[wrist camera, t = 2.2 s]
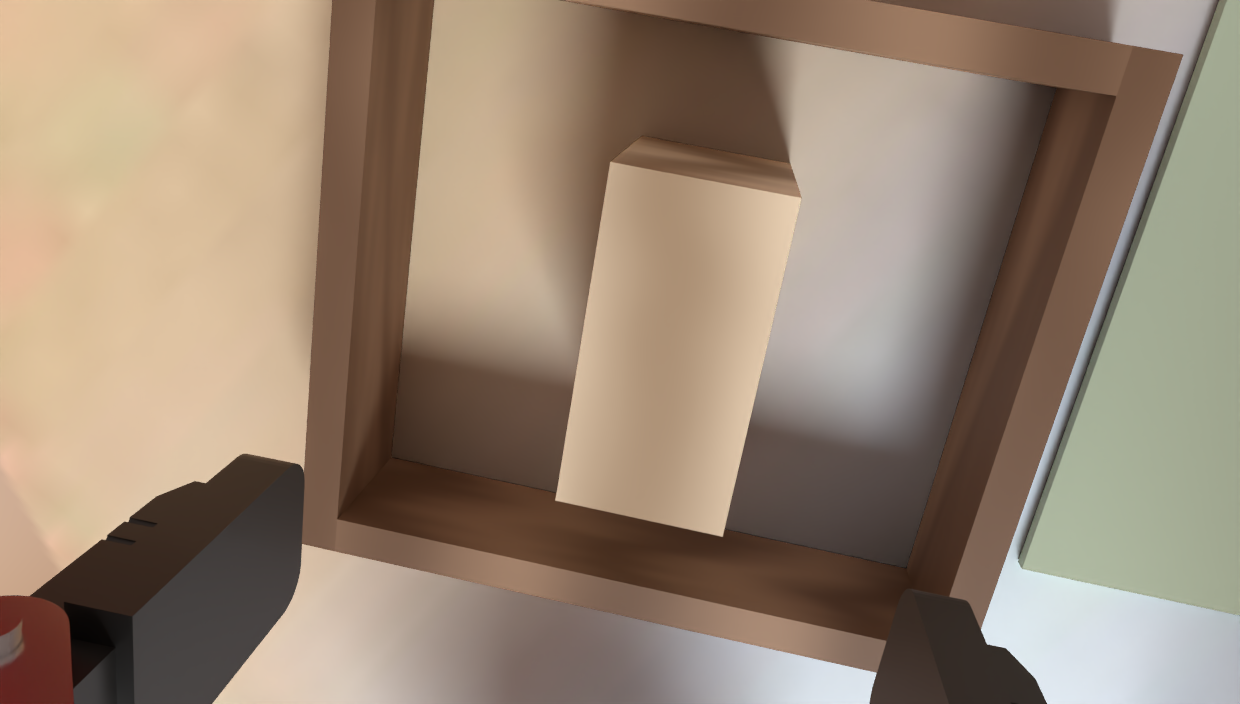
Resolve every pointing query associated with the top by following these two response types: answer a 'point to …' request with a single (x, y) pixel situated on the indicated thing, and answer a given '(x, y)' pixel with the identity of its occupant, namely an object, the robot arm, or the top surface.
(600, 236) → the maple block
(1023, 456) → the slot box
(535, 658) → the top surface
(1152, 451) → the mat
